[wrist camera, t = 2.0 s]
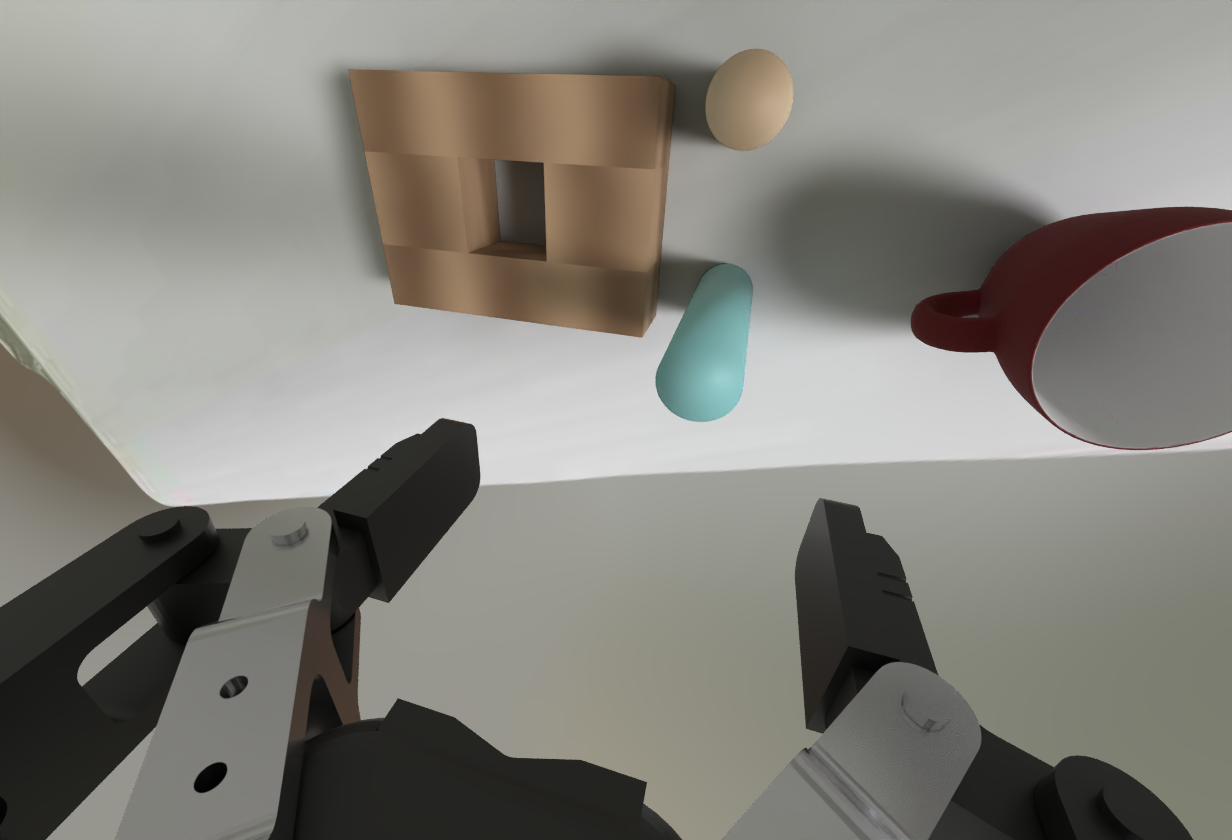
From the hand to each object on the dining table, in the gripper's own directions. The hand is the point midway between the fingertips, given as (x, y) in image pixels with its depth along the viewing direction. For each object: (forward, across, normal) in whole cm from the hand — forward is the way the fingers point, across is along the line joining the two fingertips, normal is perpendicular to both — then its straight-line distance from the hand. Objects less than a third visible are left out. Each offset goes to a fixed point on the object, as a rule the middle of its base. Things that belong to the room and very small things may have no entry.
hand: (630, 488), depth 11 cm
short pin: (+20, -1, -8) cm, 22 cm away
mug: (+21, -15, -2) cm, 26 cm away
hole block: (+21, +11, -3) cm, 24 cm away
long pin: (+21, -1, +1) cm, 21 cm away
